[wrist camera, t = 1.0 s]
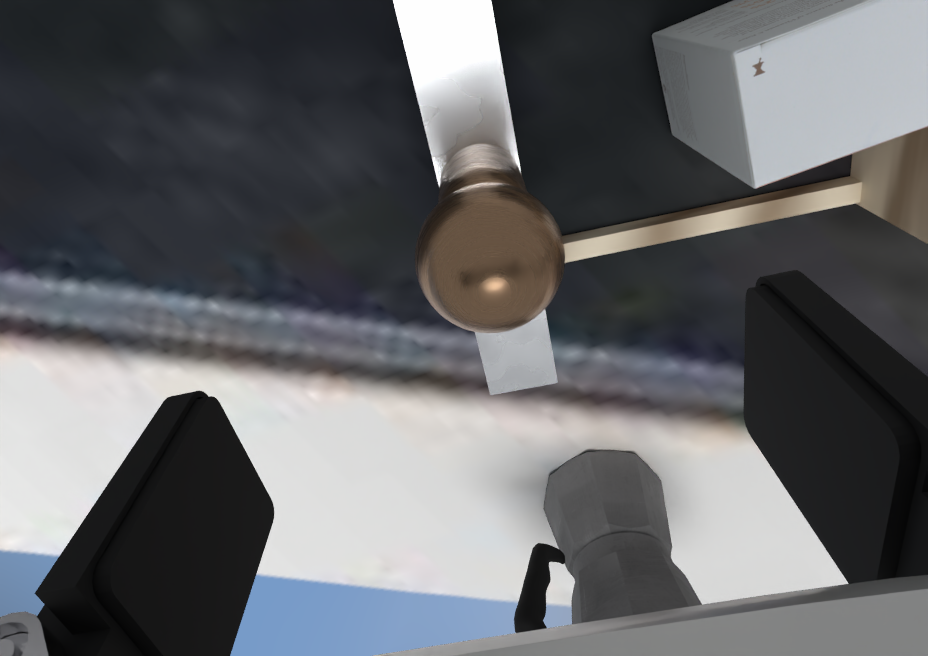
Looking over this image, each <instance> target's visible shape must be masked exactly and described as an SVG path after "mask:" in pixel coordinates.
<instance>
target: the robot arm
mask: <svg viewBox="0 0 928 656" xmlns="http://www.w3.org/2000/svg"><path fill="white" fill-rule="evenodd" d="M744 420H745V424H746V427H747V430H748V432H749V434H750V436H751V437H752V439H753V440H754V442H755V443H756V445H757V446H758V448H759V449H760V451H761V452H762V454H763V455H764V457H765V458H766V460H767V461H768V463H769V464H770V466H771V467H772V469H773V470H774V472H775V473H776V475H777V476H778V478H779V479H780V481H781V482H782V484H783V485H784V487H785V488H786V490H787V491H788V493H789V494H790V496H791V497H792V499H793V500H794V502H795V503H796V505H797V506H798V508H799V509H800V511H801V512H802V514H803V515H804V517H805V518H806V520H807V521H808V523H809V524H810V526H811V527H812V529H813V530H814V532H815V533H816V535H817V536H818V538H819V539H820V541H821V542H822V544H823V545H824V547H825V548H826V550H827V551H828V553H829V554H830V556H831V557H832V559H833V560H834V562H835V563H836V565H837V566H838V568H839V569H840V571H841V572H842V574H843V575H844V577H845V579H846V580H847V582H848V583H849V584H845V585H838V586H830V587H823V588H815V589H808V590H801V591H793V592H786V593H778V594H771V595H763V596H757V597H750V598H744V599H737V600H730V601H724V602H717V603H711V604H704V605H697V606H691V607H684V608H677V609H671V610H664V611H658V612H651V613H644V614H638V615H631V616H625V617H618V618H611V619H605V620H598V621H591V622H585V623H578V624H572V625H566V626H559V627H553V628H546V629H540V630H533V631H527V632H520V633H514V634H508V635H501V636H495V637H488V638H482V639H476V640H469V641H463V642H457V643H450V644H444V645H437V646H431V647H425V648H418V649H412V650H406V651H400V652H393V653H387V654H380V655H374V656H928V377H927V376H926V375H925V374H924V373H922V372H921V371H920V370H919V369H918V368H916V367H915V366H914V365H913V364H911V363H910V362H909V361H908V360H907V359H905V358H904V357H903V356H902V355H901V354H899V353H898V352H897V351H896V350H895V349H893V348H892V347H891V346H890V345H888V344H887V343H886V342H885V341H884V340H882V339H881V338H880V337H879V336H878V335H876V334H875V333H874V332H873V331H872V330H870V329H869V328H868V327H867V326H865V325H864V324H863V323H862V322H861V321H859V320H858V319H857V318H856V317H855V316H853V315H852V314H851V313H850V312H848V311H847V310H846V309H845V308H844V307H842V306H841V305H840V304H839V303H838V302H836V301H835V300H834V299H833V298H832V297H830V296H829V295H828V294H827V293H825V292H824V291H823V290H822V289H821V288H819V287H818V286H817V285H816V284H815V283H813V282H812V281H811V280H810V279H809V278H807V277H806V276H805V275H804V274H802V273H801V272H799V271H798V270H793V271H788V272H783V273H778V274H773V275H768V276H764V277H760V278H759V279H758V280H757V282H756V287H753V288H749V289H748V290H747V293H746V308H745V364H744ZM273 519H274V507H273V503H272V500H271V498H270V496H269V494H268V492H267V491H266V489H265V487H264V485H263V483H262V481H261V479H260V477H259V476H258V474H257V472H256V470H255V468H254V466H253V464H252V463H251V461H250V459H249V457H248V455H247V453H246V451H245V449H244V448H243V446H242V444H241V442H240V440H239V438H238V436H237V434H236V433H235V431H234V429H233V427H232V425H231V423H230V421H229V420H228V418H227V416H226V414H225V412H224V410H223V408H222V406H221V405H220V403H219V401H218V400H217V399H216V398H215V397H212V396H211V397H208V395H207V394H205V393H204V392H202V391H196V392H191V393H186V394H181V395H176V396H171V397H168V398H167V399H166V400H165V401H164V402H163V403H162V405H161V406H160V408H159V409H158V411H157V412H156V414H155V415H154V417H153V418H152V420H151V421H150V423H149V424H148V426H147V427H146V429H145V430H144V432H143V433H142V435H141V436H140V438H139V439H138V441H137V442H136V443H135V445H134V446H133V448H132V449H131V451H130V452H129V454H128V455H127V457H126V458H125V460H124V461H123V463H122V464H121V466H120V467H119V469H118V470H117V472H116V473H115V475H114V476H113V478H112V479H111V481H110V482H109V484H108V485H107V487H106V488H105V490H104V491H103V493H102V494H101V496H100V497H99V499H98V500H97V501H96V503H95V504H94V506H93V507H92V509H91V510H90V512H89V513H88V515H87V516H86V518H85V519H84V521H83V522H82V524H81V525H80V527H79V528H78V530H77V531H76V533H75V534H74V536H73V537H72V539H71V540H70V542H69V543H68V545H67V546H66V548H65V549H64V551H63V552H62V554H61V555H60V557H59V558H58V559H57V561H56V562H55V564H54V565H53V567H52V569H51V570H50V572H49V573H48V574H47V576H46V577H45V579H44V581H43V582H42V584H41V585H40V586H39V588H38V590H37V591H36V592H35V594H36V595H37V596H38V597H39V598H40V600H41V601H42V602H43V603H44V604H45V605H44V607H43V608H42V610H41V611H40V613H39V614H38V616H36V615H34V614H31V613H28V612H18V613H11V614H8V615H5V616H2V617H0V656H230V654H231V651H232V648H233V644H234V641H235V638H236V635H237V632H238V629H239V626H240V623H241V620H242V617H243V613H244V610H245V607H246V604H247V601H248V598H249V595H250V592H251V589H252V585H253V582H254V579H255V576H256V573H257V570H258V567H259V564H260V561H261V558H262V554H263V551H264V548H265V545H266V542H267V539H268V536H269V533H270V530H271V526H272V523H273Z"/></svg>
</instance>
